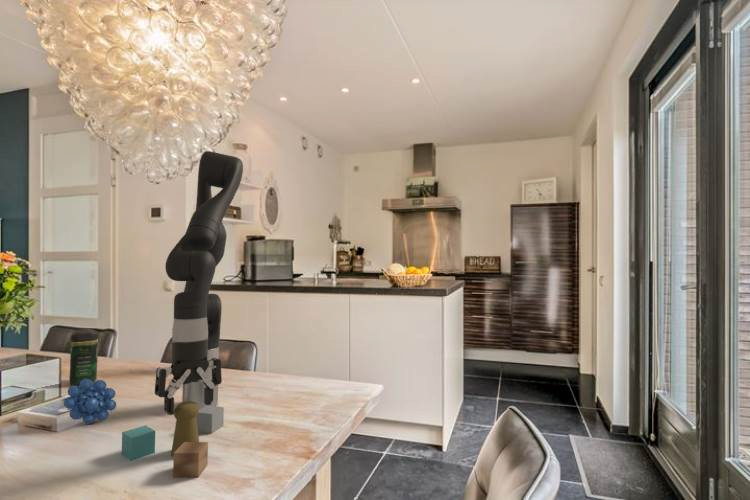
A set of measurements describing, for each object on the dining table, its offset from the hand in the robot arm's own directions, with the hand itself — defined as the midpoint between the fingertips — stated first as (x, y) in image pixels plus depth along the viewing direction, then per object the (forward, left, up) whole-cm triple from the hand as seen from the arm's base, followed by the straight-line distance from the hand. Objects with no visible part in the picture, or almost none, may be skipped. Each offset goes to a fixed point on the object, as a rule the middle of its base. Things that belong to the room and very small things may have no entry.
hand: (189, 409), depth 95 cm
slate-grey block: (-6, +12, -10) cm, 16 cm away
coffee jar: (-76, +24, -10) cm, 80 cm away
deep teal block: (-10, -5, -10) cm, 15 cm away
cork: (-1, 0, -10) cm, 10 cm away
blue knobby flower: (-36, +1, -10) cm, 37 cm away
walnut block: (+7, -6, -10) cm, 14 cm away
